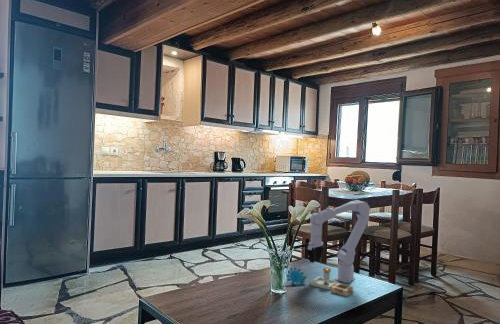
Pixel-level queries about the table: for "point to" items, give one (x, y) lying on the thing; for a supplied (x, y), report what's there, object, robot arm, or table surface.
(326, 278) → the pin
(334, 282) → the tray
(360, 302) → the table surface
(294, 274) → the blue spiky virus model
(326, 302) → the table surface
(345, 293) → the socket block
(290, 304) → the table surface
